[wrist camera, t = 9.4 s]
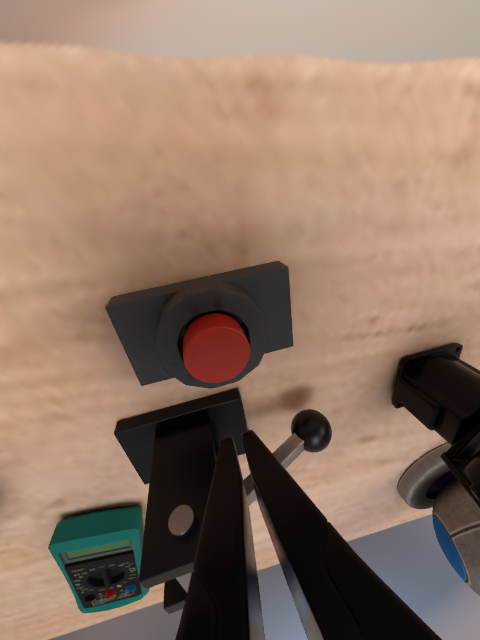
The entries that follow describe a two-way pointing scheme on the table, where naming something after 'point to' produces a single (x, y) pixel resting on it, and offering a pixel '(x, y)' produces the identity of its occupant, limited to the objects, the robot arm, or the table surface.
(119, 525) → the digital multimeter
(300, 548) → the robot arm
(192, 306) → the button block
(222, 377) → the red push button
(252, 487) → the lever handle
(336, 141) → the table surface
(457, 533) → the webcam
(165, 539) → the lever bracket
